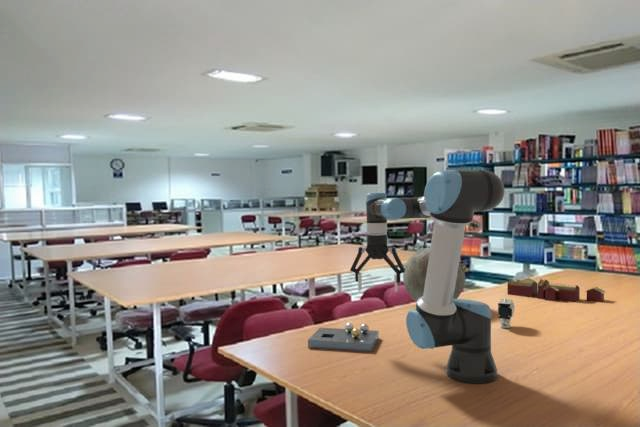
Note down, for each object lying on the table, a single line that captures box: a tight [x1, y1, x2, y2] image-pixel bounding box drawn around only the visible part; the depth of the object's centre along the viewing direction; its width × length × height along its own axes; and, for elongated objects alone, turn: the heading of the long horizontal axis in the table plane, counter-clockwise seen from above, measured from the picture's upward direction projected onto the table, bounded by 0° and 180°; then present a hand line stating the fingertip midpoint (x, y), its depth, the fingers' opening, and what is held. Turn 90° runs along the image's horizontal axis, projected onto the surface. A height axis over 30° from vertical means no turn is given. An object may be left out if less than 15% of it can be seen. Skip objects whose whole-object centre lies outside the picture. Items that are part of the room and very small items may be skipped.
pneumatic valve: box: [497, 298, 515, 330], centre depth 202 cm, size 6×12×12 cm, turn 152°
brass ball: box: [351, 327, 360, 338], centre depth 182 cm, size 3×3×3 cm
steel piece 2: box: [359, 323, 370, 333], centre depth 188 cm, size 3×3×3 cm
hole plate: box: [307, 327, 380, 353], centre depth 185 cm, size 17×24×3 cm
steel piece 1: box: [344, 322, 355, 332], centre depth 190 cm, size 3×3×3 cm
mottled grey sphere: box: [402, 246, 466, 303], centre depth 241 cm, size 30×30×30 cm
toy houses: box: [507, 277, 606, 303], centre depth 257 cm, size 45×20×10 cm, turn 47°
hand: (377, 291), depth 180 cm, fingers open, 13 cm apart
